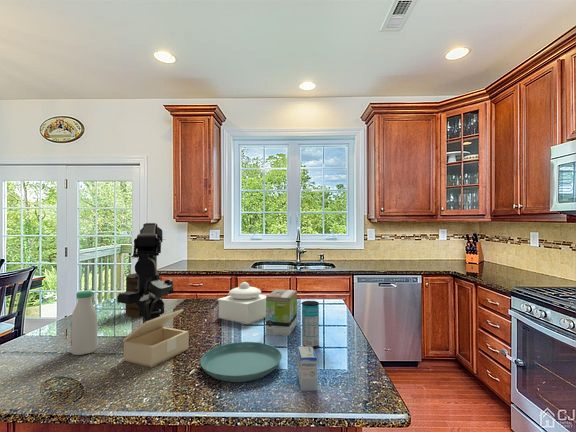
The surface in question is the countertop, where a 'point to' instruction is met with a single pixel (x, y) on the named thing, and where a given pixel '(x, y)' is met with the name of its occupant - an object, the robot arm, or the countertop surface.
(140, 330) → the lid
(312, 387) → the medicine box
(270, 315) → the tea box
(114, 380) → the countertop surface
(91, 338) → the milk bottle
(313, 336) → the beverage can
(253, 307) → the white square canister
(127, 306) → the wooden container
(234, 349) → the green plate
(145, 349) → the cardboard box
